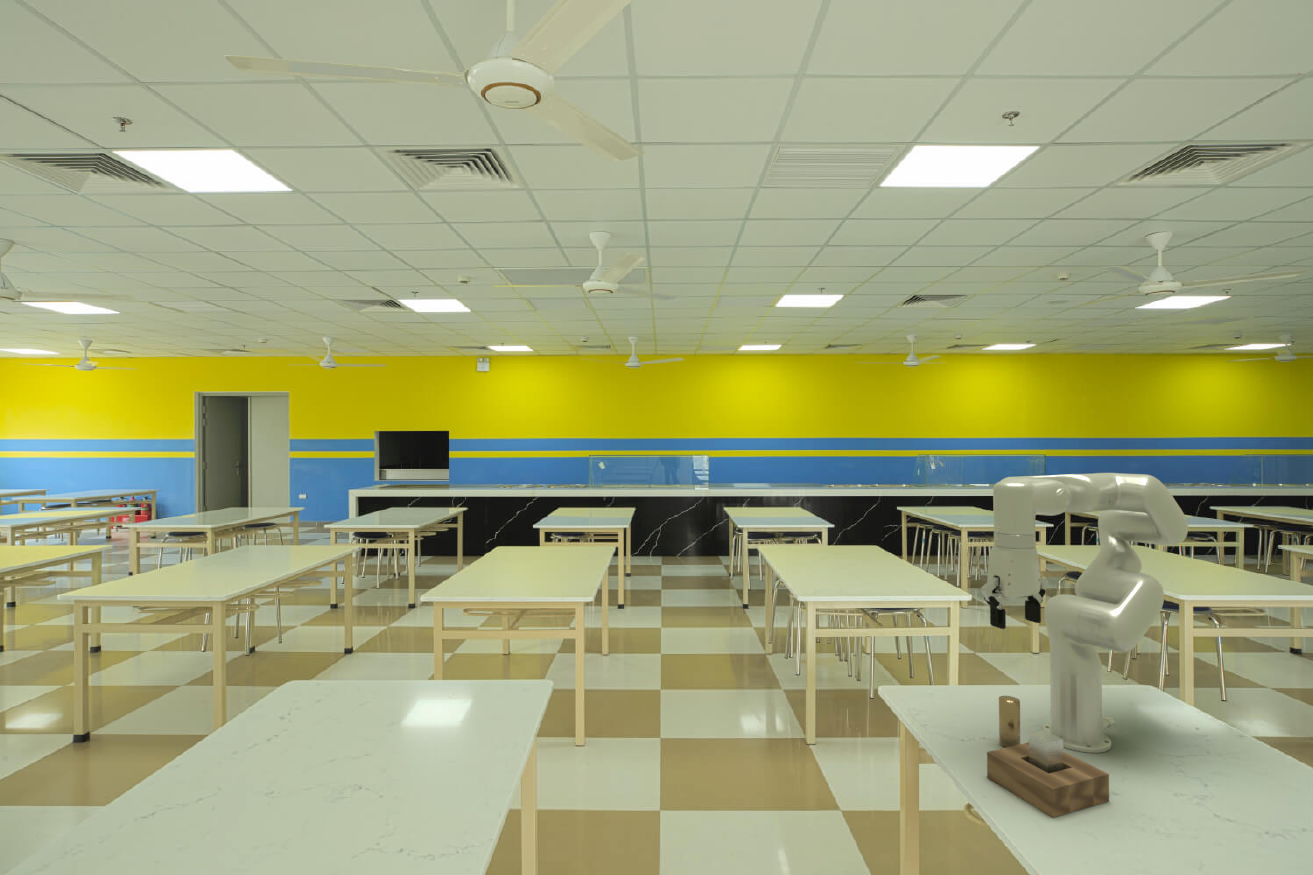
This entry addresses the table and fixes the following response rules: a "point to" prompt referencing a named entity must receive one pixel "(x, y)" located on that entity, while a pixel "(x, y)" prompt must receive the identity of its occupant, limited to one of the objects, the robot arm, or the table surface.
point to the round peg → (1009, 721)
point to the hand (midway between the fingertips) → (1015, 624)
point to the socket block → (1048, 781)
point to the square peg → (1046, 751)
